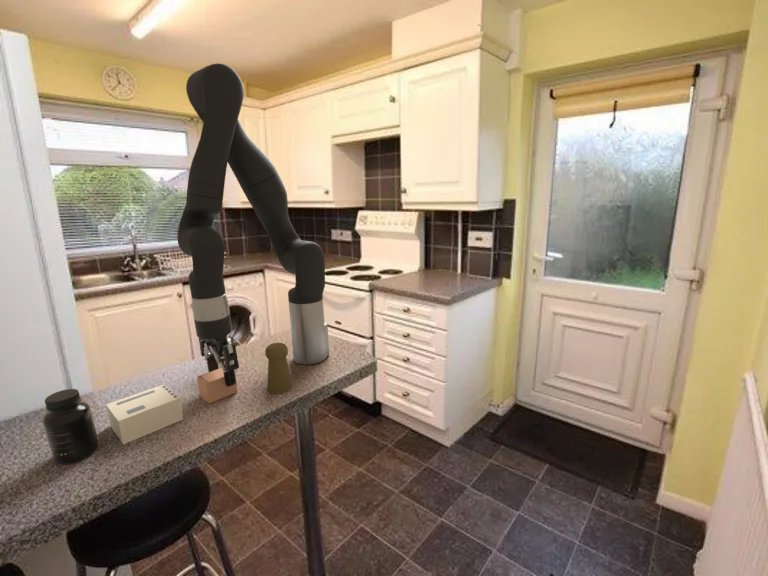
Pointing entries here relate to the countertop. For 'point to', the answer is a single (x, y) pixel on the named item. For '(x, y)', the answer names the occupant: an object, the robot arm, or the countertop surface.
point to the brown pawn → (278, 368)
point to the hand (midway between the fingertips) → (222, 379)
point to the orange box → (214, 386)
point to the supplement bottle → (69, 427)
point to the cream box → (144, 413)
